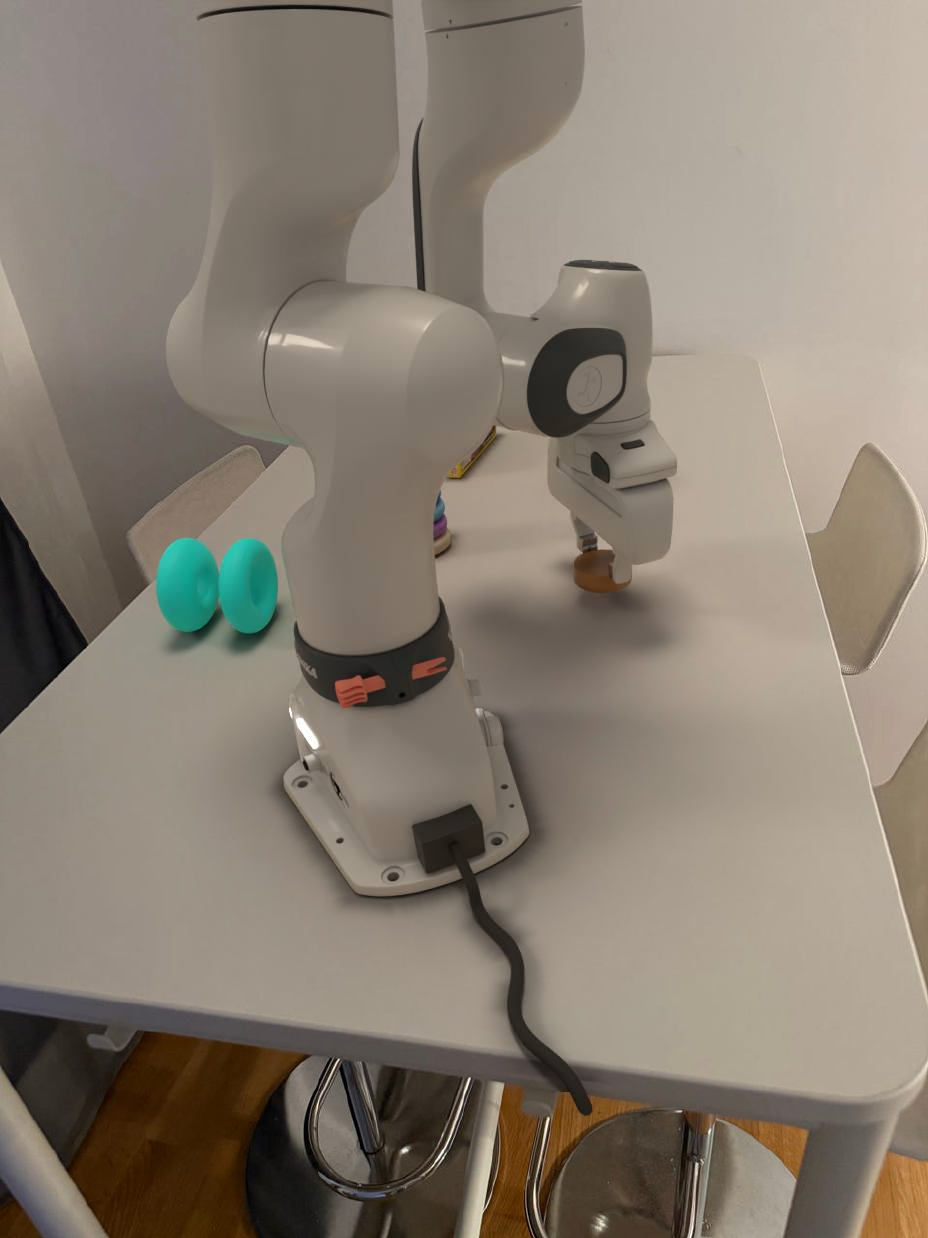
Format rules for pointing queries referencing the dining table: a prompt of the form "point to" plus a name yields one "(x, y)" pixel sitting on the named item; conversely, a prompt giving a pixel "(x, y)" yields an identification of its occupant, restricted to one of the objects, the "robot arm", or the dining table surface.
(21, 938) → the dining table surface
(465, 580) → the dining table surface
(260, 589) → the donuts
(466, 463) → the candy box
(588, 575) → the oak chip
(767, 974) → the dining table surface
